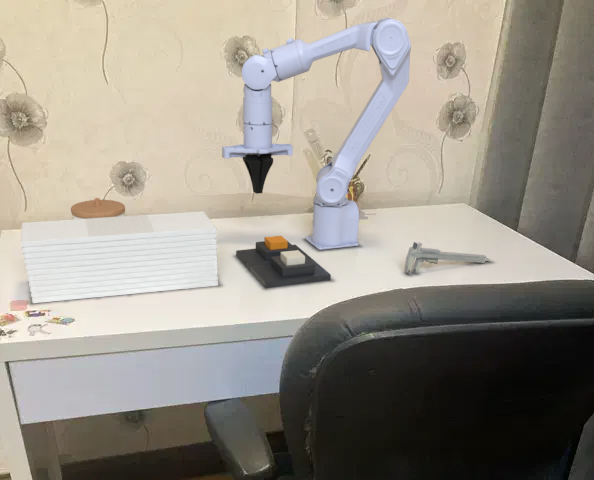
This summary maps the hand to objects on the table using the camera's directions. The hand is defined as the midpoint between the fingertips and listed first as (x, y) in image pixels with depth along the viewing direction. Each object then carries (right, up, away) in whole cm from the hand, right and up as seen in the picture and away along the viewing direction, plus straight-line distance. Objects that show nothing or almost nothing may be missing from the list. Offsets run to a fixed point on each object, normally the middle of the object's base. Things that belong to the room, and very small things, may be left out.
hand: (257, 192), depth 138 cm
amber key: (+4, -13, -6) cm, 15 cm away
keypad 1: (+3, -15, -5) cm, 16 cm away
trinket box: (-33, -11, +1) cm, 35 cm away
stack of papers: (-23, -22, -17) cm, 36 cm away
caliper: (+39, -17, -6) cm, 43 cm away
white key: (+7, -17, -13) cm, 23 cm away
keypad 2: (+7, -20, -12) cm, 24 cm away
